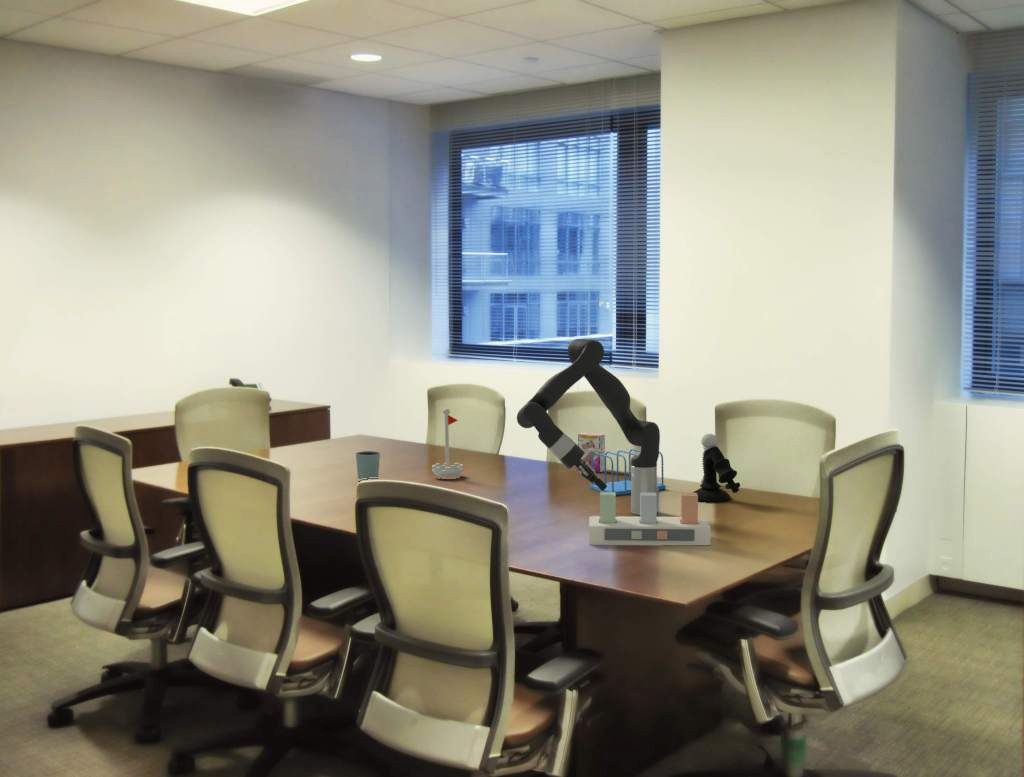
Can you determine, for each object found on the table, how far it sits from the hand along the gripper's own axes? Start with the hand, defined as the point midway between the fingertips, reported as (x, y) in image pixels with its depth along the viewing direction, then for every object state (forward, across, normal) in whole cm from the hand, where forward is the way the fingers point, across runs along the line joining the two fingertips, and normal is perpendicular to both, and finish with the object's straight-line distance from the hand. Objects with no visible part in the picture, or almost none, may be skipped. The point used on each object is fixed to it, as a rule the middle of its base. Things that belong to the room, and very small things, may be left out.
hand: (604, 488), depth 334 cm
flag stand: (-36, +104, +60) cm, 126 cm away
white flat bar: (+22, 0, +2) cm, 22 cm away
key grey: (+18, 0, -1) cm, 18 cm away
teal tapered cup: (-59, +96, +83) cm, 140 cm away
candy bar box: (+8, +121, +17) cm, 122 cm away
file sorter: (+18, +81, +6) cm, 84 cm away
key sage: (+9, 0, +8) cm, 12 cm away
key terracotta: (+27, 0, -11) cm, 29 cm away
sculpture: (+42, +60, -18) cm, 75 cm away
